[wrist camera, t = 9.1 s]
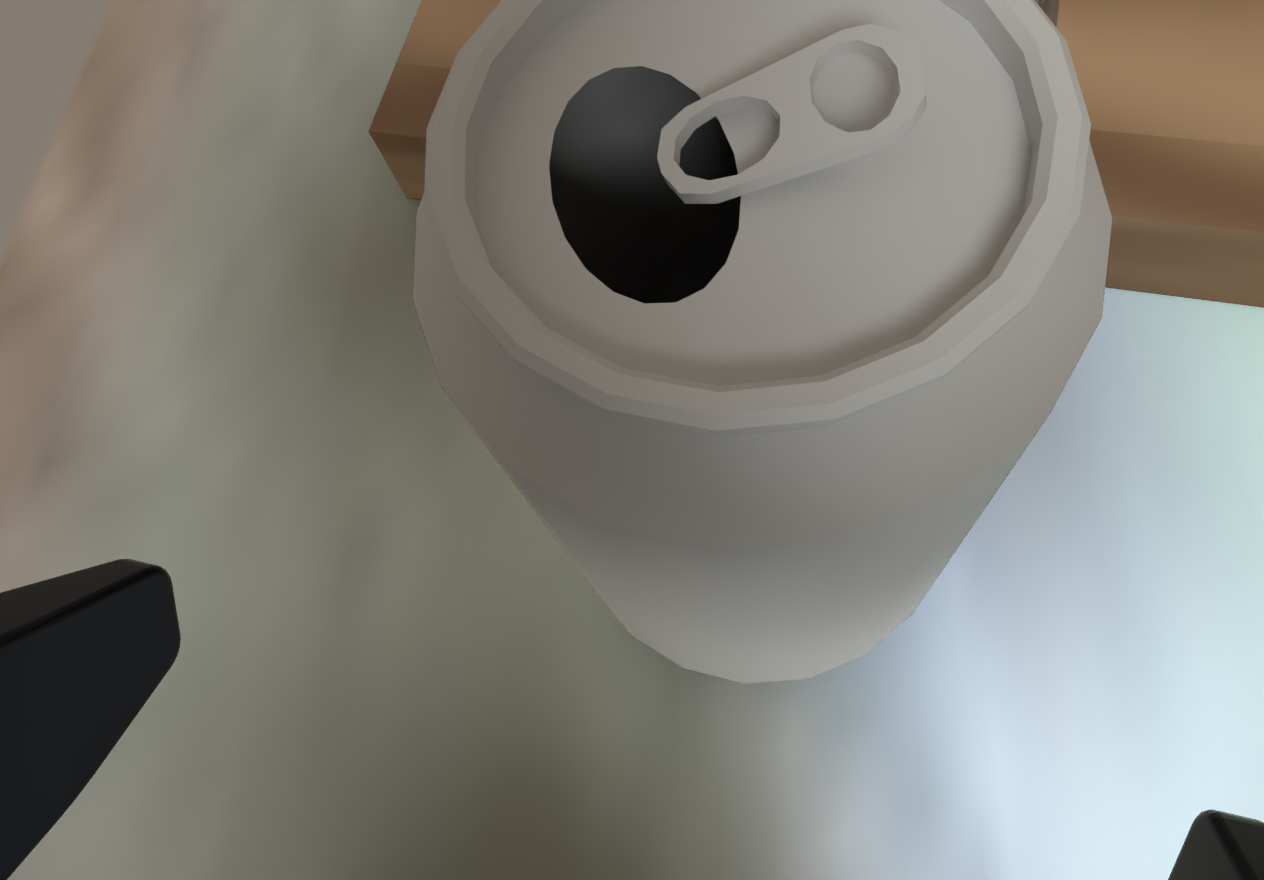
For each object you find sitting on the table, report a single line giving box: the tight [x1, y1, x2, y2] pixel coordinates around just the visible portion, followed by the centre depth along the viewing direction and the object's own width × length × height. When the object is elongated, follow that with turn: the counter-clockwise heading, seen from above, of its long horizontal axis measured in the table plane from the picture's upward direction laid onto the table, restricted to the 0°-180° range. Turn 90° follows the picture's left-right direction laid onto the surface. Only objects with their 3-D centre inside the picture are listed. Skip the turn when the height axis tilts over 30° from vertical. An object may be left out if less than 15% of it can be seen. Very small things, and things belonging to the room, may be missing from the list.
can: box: [413, 0, 1112, 684], centre depth 14 cm, size 8×8×12 cm
